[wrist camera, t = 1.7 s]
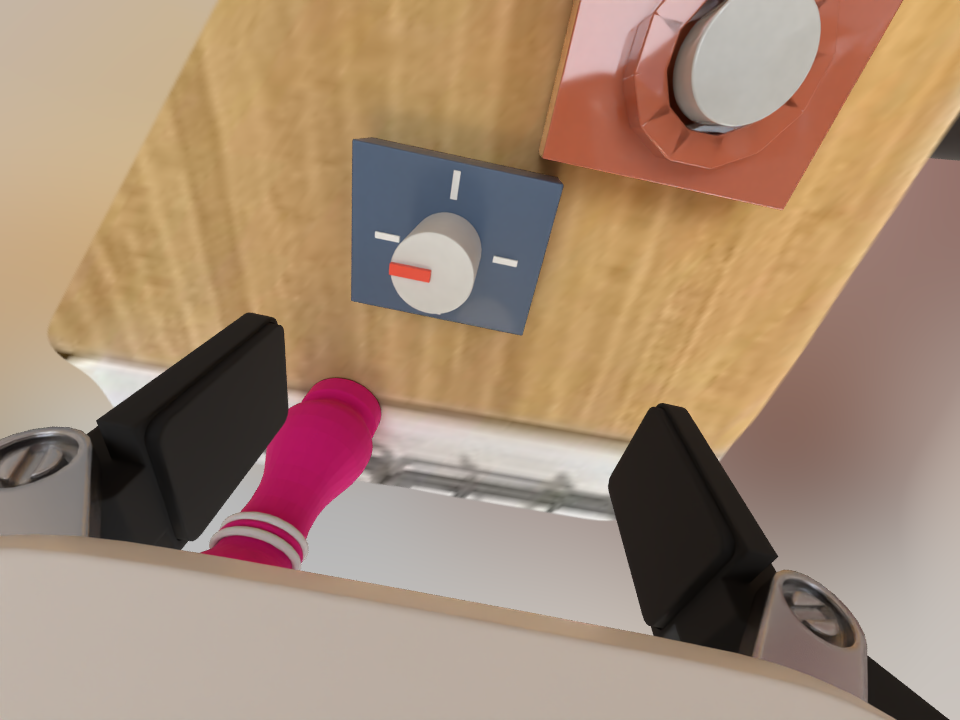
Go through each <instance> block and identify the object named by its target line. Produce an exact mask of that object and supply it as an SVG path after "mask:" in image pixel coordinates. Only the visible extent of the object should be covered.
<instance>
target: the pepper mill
mask: <svg viewBox="0 0 960 720" xmlns="http://www.w3.org/2000/svg"><path fill="white" fill-rule="evenodd" d="M380 419H381V409H380V406H379V404H378V401H377V400H376V398H375V397H374V396H373V394H372V393H371V392H370V391H369V390H367V389H366V388H365V387H364V386H362V385H360V384H358V383H356V382H354V381H351V380H347V379H341V378H330V379H325V380H322V381H320V382H318V383H316V384H315V385H314V386H313V387H312V388H311V390H310V391H309V392H308V393H307V395H306V396H305V397H304V399H303V400H302V402H301V403H299V404H296V405H294V406H292V407H290V408H289V409H288V416H287V419H286V421H285V423H284V425H283V426H282V428H281V429H280V430H279V432H278V433H277V434H276V435H275V437H274V438H273V439H272V441H271V442H270V443H269V445H268V446H267V452H266V461H265V469H264V474H263V477H262V480H261V483H260V485H259V487H258V488H257V490H256V492H255V493H254V495H253V496H252V498H251V500H250V501H249V502H248V504H247V505H246V506H245V507H244V508H243V509H242V511H241V512H240V513H236V514H233V515H231V516H229V517H228V518H226V519H225V520H224V521H223V523H222V524H221V528H220V530H219V531H218V532H216V533H215V534H214V535H213V536H212V538H211V540H210V544H209V547H210V549H209V550H207V551H204V552H201V553H202V554H208V555H214V556H220V557H226V558H232V559H238V560H243V561H249V562H254V563H260V564H266V565H271V566H277V567H282V568H288V569H294V570H299V571H300V569H301V563H302V562H303V561H304V560H305V558H306V557H307V554H308V543H307V541H306V538H307V535H308V532H309V530H310V528H311V526H312V525H313V523H314V521H315V519H316V518H317V516H318V515H319V514H320V512H321V511H322V510H323V509H324V508H325V506H326V505H328V504H329V503H330V502H331V501H332V500H333V499H334V498H336V497H337V496H338V495H339V494H340V493H342V492H343V491H344V490H346V489H347V488H348V487H349V486H350V485H352V484H353V482H354V481H355V480H356V479H357V478H358V477H359V476H360V475H361V474H362V472H363V470H364V469H365V467H366V465H367V463H368V462H369V460H370V457H371V454H372V448H373V446H372V437H373V435H374V433H375V431H376V429H377V427H378V425H379V422H380Z"/></svg>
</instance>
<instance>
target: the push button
mask: <svg viewBox="0 0 960 720" xmlns="http://www.w3.org/2000/svg"><path fill="white" fill-rule="evenodd" d="M820 34H821V21H820V14H819V11H818V7H817V5H816V2H815V0H724V1H722V2H721V3H719V4H717V5H716V6H714V7H713V8H711V9H710V10H709V11H708V12H706V13H705V14H704V15H703V16H702V17H701V18H700V19H699V20H698V21H697V22H696V23H695V25H694V26H693V27H692V28H691V30H690V31H689V33H688V34H687V36H686V37H685V39H684V41H683V43H682V45H681V47H680V50H679V52H678V55H677V58H676V61H675V65H674V70H673V91H674V96H675V99H676V102H677V104H678V106H679V108H680V110H681V111H682V113H683V114H684V115H685V116H686V117H687V118H689V119H690V120H691V121H693V122H695V123H697V124H700V125H705V126H726V127H736V126H744V125H748V124H752V123H755V122H757V121H759V120H762V119H763V118H765V117H767V116H769V115H770V114H772V113H773V112H775V111H776V110H778V109H779V108H780V107H781V106H782V105H784V104H785V103H786V102H787V101H788V100H789V99H790V98H791V97H792V96H793V94H794V93H795V92H796V91H797V90H798V88H799V87H800V85H801V84H802V83H803V81H804V80H805V78H806V76H807V74H808V73H809V71H810V69H811V67H812V64H813V62H814V60H815V57H816V54H817V51H818V46H819V42H820Z"/></svg>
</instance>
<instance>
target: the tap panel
mask: <svg viewBox="0 0 960 720" xmlns="http://www.w3.org/2000/svg"><path fill="white" fill-rule="evenodd" d="M562 190H563V184H562V182H561V181H560V179H559V178H558V177H553V176H549V175H544V174H540V173H535V172H530V171H526V170H521V169H516V168H512V167H507V166H502V165H498V164H493V163H488V162H484V161H479V160H474V159H470V158H465V157H461V156H456V155H451V154H447V153H442V152H437V151H433V150H428V149H423V148H419V147H414V146H409V145H405V144H400V143H395V142H391V141H386V140H382V139H377V138H372V137H371V138H362V139H353V143H352V270H351V301H354V302H359V303H364V304H369V305H374V306H379V307H384V308H389V309H394V310H399V311H404V312H409V313H413V314H418V315H423V316H428V317H433V318H438V319H443V320H448V321H453V322H458V323H463V324H468V325H472V326H477V327H482V328H487V329H492V330H497V331H502V332H507V333H512V334H517V335H523V331H524V327H525V324H526V320H527V316H528V313H529V309H530V306H531V302H532V298H533V295H534V291H535V288H536V284H537V280H538V277H539V273H540V269H541V266H542V262H543V259H544V255H545V251H546V248H547V244H548V240H549V237H550V233H551V230H552V226H553V222H554V219H555V215H556V212H557V208H558V204H559V201H560V197H561V193H562ZM441 212H447V213H453V214H456V215H459V216H461V217H463V218H464V219H466V220H467V221H468V222H469V223H470V224H471V225H472V226H473V227H474V228H475V230H476V232H477V233H478V236H479V238H480V242H481V248H482V252H481V259H480V262H479V266H478V270H477V274H476V277H475V281H474V285H473V288H472V291H471V293H470V295H469V297H468V298H467V300H466V301H465V302H464V303H463V304H462V305H461V306H459V307H458V308H456V309H454V310H452V311H450V312H446V313H441V314H431V313H425V312H422V311H419V310H417V309H415V308H413V307H412V306H410V305H409V304H407V303H406V302H405V301H404V300H403V299H402V298H401V297H400V295H399V294H398V293H397V291H396V289H395V287H394V285H393V282H392V278H391V275H389V264H390V263H391V260H392V256H393V254H394V252H395V250H396V248H397V247H398V245H399V244H400V243H401V242H402V241H403V240H404V239H405V238H406V237H407V236H408V235H409V234H410V233H411V232H412V231H413V230H414V229H415V228H416V227H417V225H418V224H419V223H420V222H421V221H423V220H424V219H425V218H427V217H428V216H430V215H432V214H436V213H441Z"/></svg>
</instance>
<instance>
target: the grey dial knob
mask: <svg viewBox="0 0 960 720" xmlns="http://www.w3.org/2000/svg"><path fill="white" fill-rule="evenodd" d="M481 252H482V248H481V242H480V238H479V236H478V233H477V232H476V230H475V228H474V227H473V226H472V225H471V224H470V223H469V222H468V221H467V220H466V219H464V218H463V217H461V216H459V215H456V214H453V213H447V212H441V213H436V214H432V215H430V216H428V217H427V218H425V219H424V220H423V221H421V222H420V223H419V224H418V225H417V227H416V228H415V229H414V230H413V231H412V232H411V233H410V234H409V235H408V236H407V237H406V238H405V239H404V240H403V241H402V242H401V243H400V244H399V245H398V247H397V248H396V250H395V252H394V254H393V256H392V260H391V263H390V264H389V275H391V278H392V282H393V285H394V287H395V289H396V291H397V293H398V294H399V295H400V297H401V298H402V299H403V300H404V301H405V302H406V303H407V304H409V305H410V306H412V307H413V308H415V309H417V310H419V311H422V312H425V313H431V314H441V313H446V312H450V311H452V310H454V309H456V308H458V307H459V306H461V305H462V304H463V303H464V302H465V301H466V300H467V298H468V297H469V295H470V293H471V291H472V288H473V285H474V281H475V277H476V274H477V270H478V266H479V262H480V259H481Z"/></svg>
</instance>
